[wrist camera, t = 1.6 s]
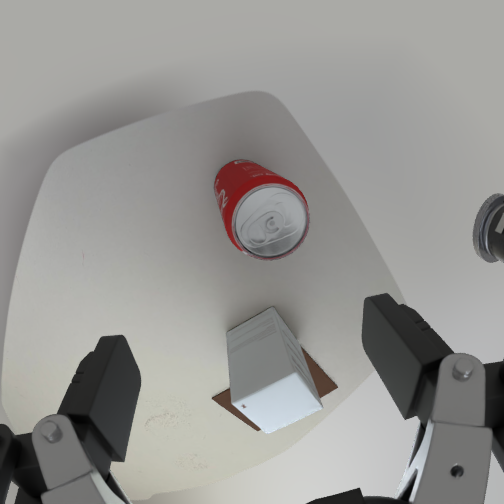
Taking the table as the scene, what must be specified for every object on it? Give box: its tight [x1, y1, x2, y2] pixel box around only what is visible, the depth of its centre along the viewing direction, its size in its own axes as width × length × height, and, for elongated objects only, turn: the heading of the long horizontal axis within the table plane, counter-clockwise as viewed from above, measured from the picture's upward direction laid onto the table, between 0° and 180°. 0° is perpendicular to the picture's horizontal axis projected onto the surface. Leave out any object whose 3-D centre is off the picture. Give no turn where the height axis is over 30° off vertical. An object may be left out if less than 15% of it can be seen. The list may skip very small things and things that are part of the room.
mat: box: [212, 346, 338, 431], centre depth 45 cm, size 16×12×1 cm
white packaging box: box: [226, 307, 323, 434], centre depth 35 cm, size 7×7×13 cm
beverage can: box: [214, 160, 310, 260], centre depth 26 cm, size 6×6×15 cm
